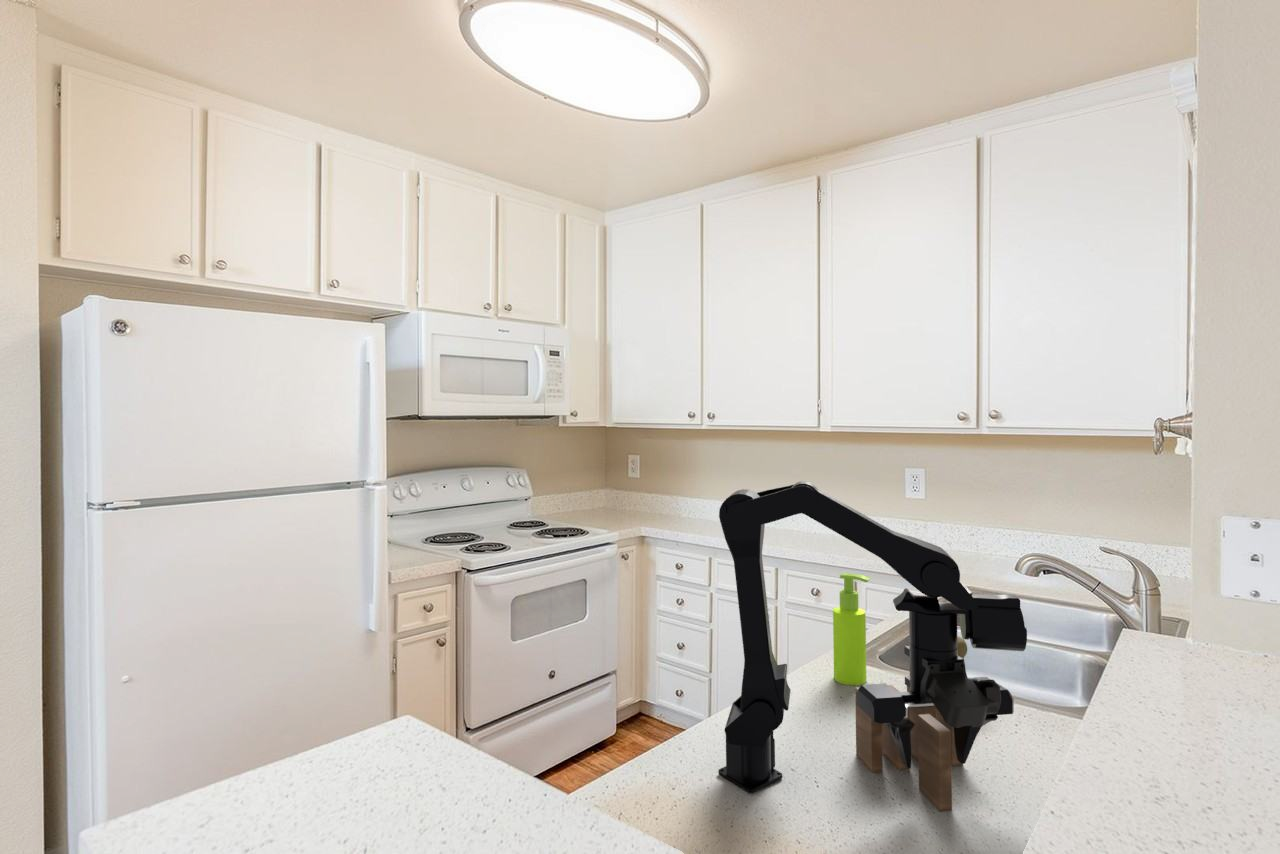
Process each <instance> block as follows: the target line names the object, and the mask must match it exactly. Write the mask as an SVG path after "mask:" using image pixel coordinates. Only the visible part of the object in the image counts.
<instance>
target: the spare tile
mask: <svg viewBox="0 0 1280 854" xmlns="http://www.w3.org/2000/svg"><path fill="white" fill-rule="evenodd" d="M918 753H919V761H918V791H920V792H921V794H923V796H924V797H925V798H926V799H927V800H929V801H930V803H932V805H933V806H934V807H935V808H936V809H938V811H939V812H949V811H952V810H953V791H952V789H953V785H952V784H953V783H952V776H953V775H952V772H953V771H952V765H951V731H950V730H949V729H948V728H946V727H945V726H944V725H943V724H941V723H940V722H939V721H937V720H936V719H935V718H934V717H932V716H931V715H930V714H923V715H918Z"/></svg>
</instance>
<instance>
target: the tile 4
mask: <svg viewBox="0 0 1280 854" xmlns="http://www.w3.org/2000/svg"><path fill="white" fill-rule="evenodd" d="M936 720H937V721H939V722H940V723H941V724H943V725H944V726H945V727H946V728H948V729H949V730H950V731H951V767H956V766H958V767H959V766H960V767H961V766H964V764H961V763H960V762H959V761H958V759H957V754H956V749H955V738H954V727H951V726H949V725H948V724H946V722H945V721H944V720H943V717H942V715H941V714H940V712H939V711H938V710H937V708H936Z"/></svg>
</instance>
